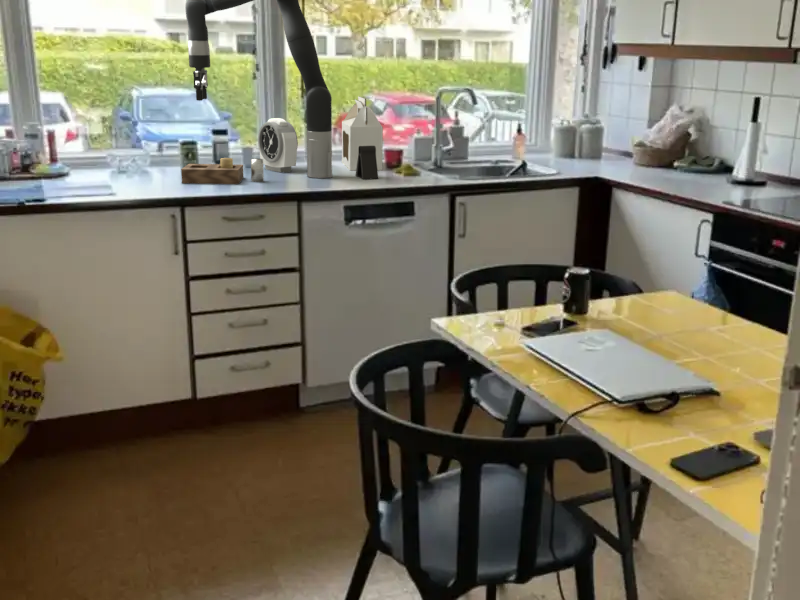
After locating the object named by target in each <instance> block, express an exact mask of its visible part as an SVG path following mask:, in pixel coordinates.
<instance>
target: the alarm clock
mask: <svg viewBox="0 0 800 600" xmlns="http://www.w3.org/2000/svg"><path fill="white" fill-rule="evenodd" d="M298 143H299V142H298V135H297V132H296V129H295V127H294V126H293V125H292V124H291V123H290V122H289V121H287V120H285V119H284V118H281V117H275V118H273V117H272V118H269V119H268V120H267V121H265V122H264V123H263V124H262V125H261V126H260V127H259V130H258V135H257V144H258V148H259V149H258V150H259V159H263V165H265V168H264V169H265V170H266V171H267V170H268V171H272V172H277V173H288V172H292V167H297V160H298V159H297V158H298V157H297V156H298V146H299V145H298Z"/></svg>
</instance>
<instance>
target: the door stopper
mask: <svg viewBox="0 0 800 600" xmlns="http://www.w3.org/2000/svg"><path fill="white" fill-rule="evenodd" d="M378 171H379V170H377V161H376V147H375V146H359V148H358V161H357V168H356V171H355V177H356V178H359V179H361V180H365V181H366V180H379V172H378Z"/></svg>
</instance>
